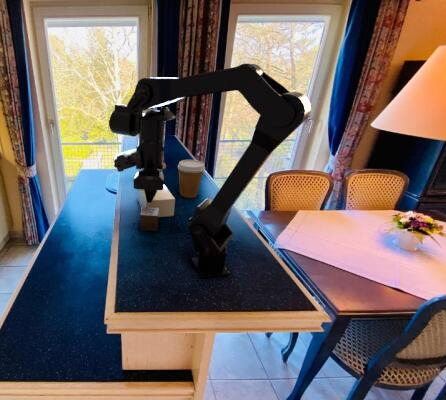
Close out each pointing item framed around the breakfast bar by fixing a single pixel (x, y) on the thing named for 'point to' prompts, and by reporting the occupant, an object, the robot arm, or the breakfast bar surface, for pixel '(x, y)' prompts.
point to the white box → (159, 202)
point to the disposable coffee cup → (190, 177)
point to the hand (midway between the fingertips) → (149, 201)
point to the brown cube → (149, 219)
